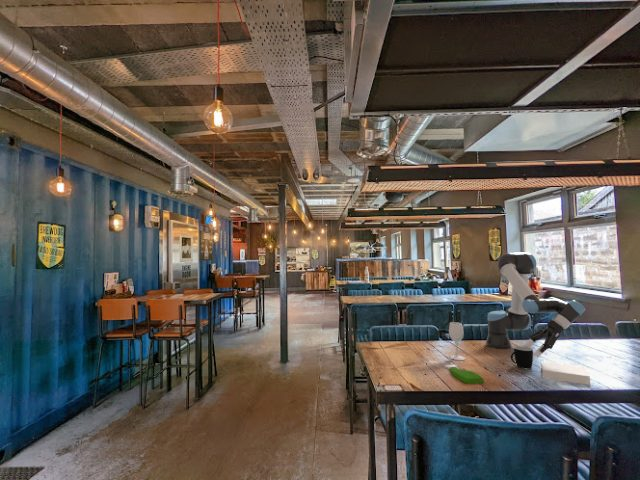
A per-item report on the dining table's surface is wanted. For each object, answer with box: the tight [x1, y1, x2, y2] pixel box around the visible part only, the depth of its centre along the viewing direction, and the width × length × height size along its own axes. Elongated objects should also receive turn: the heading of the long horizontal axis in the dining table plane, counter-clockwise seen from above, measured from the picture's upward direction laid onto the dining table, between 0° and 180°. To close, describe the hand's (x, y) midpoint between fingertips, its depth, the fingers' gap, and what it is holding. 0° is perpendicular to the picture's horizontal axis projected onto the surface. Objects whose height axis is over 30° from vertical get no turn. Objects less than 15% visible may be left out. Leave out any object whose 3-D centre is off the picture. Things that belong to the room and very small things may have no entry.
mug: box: [510, 345, 534, 370], centre depth 174 cm, size 12×9×10 cm
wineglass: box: [448, 321, 466, 361], centre depth 192 cm, size 9×9×21 cm
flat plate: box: [540, 360, 591, 386], centre depth 159 cm, size 18×16×4 cm
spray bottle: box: [444, 364, 485, 385], centre depth 164 cm, size 3×11×24 cm
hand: (529, 352), depth 172 cm, fingers open, 13 cm apart
